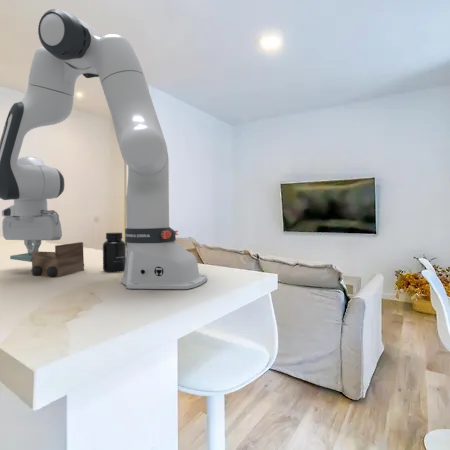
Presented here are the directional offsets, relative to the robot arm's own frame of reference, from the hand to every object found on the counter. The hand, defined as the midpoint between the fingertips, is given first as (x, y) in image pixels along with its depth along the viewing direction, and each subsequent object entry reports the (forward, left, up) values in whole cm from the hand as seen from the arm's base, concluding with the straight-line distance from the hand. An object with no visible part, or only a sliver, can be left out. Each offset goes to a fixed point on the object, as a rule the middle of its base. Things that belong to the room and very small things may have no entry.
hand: (33, 254), depth 98 cm
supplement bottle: (-25, -7, -6) cm, 26 cm away
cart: (-10, 0, -5) cm, 11 cm away
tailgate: (-5, 0, 0) cm, 5 cm away
